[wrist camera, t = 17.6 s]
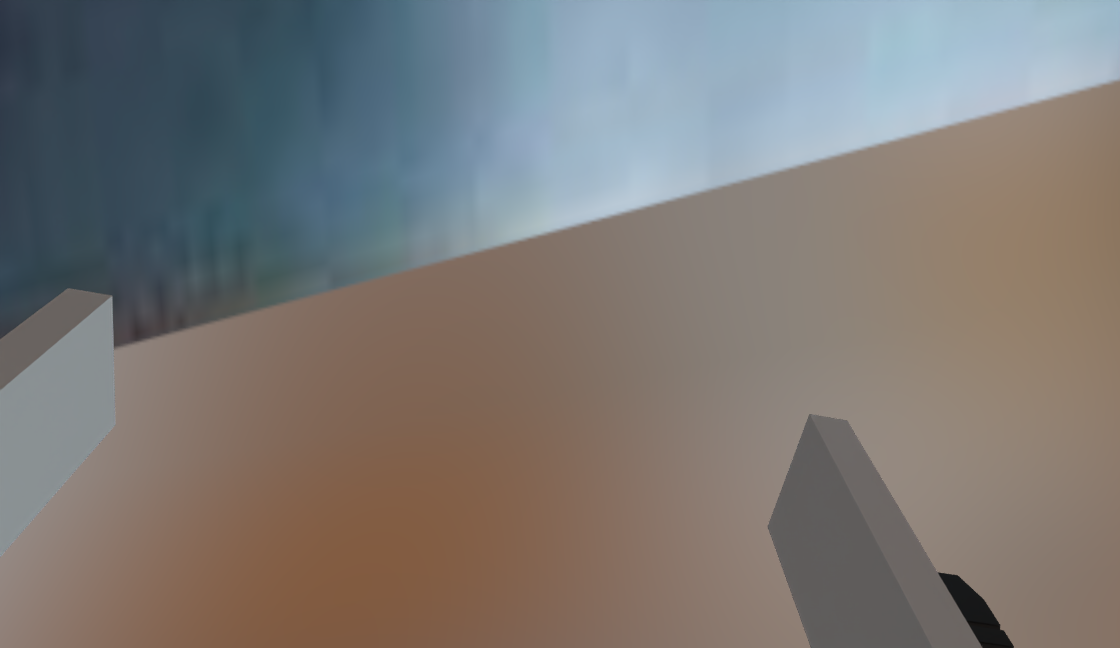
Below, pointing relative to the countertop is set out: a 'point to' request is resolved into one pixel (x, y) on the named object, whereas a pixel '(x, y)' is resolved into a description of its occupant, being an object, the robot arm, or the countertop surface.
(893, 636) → the robot arm
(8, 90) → the countertop surface
